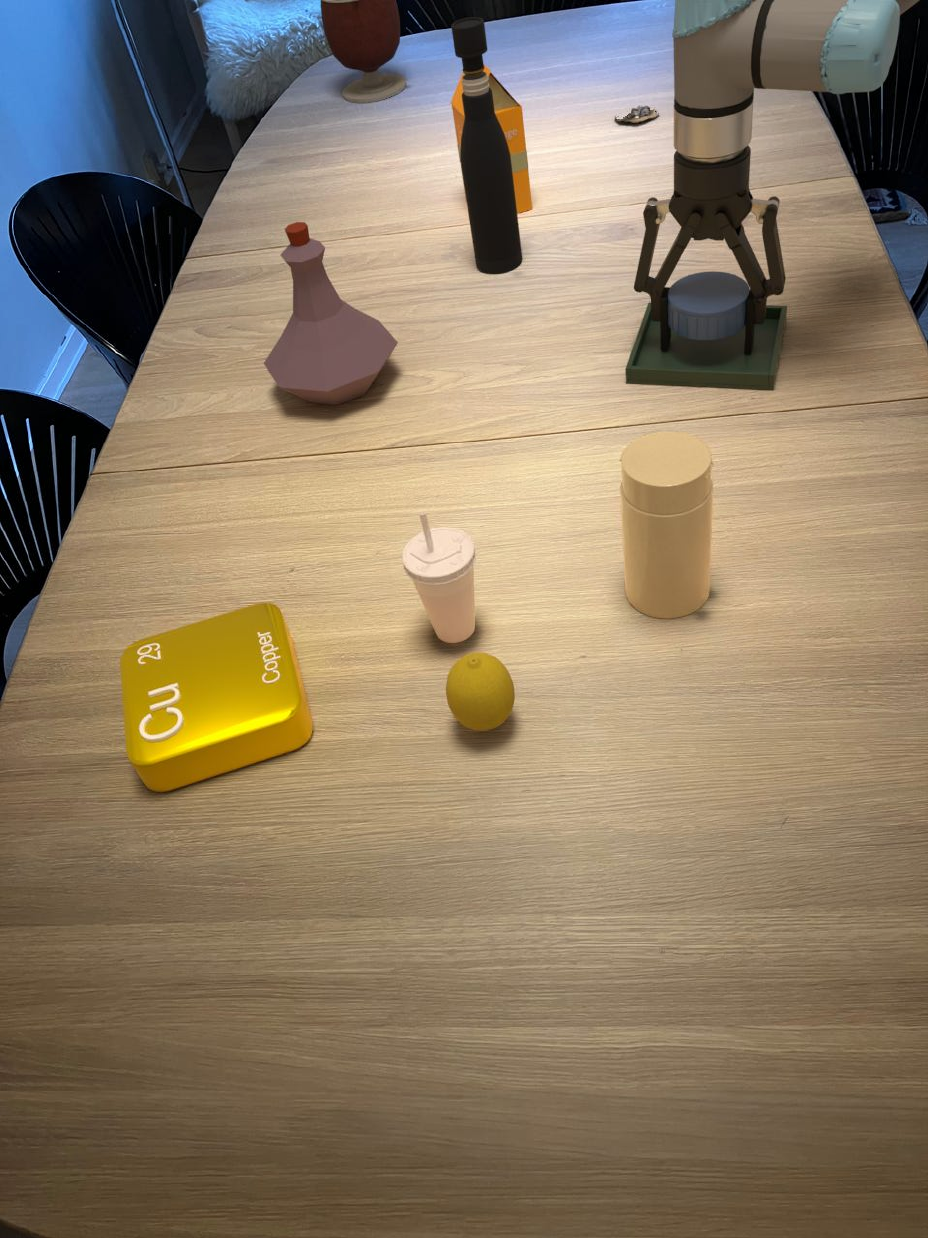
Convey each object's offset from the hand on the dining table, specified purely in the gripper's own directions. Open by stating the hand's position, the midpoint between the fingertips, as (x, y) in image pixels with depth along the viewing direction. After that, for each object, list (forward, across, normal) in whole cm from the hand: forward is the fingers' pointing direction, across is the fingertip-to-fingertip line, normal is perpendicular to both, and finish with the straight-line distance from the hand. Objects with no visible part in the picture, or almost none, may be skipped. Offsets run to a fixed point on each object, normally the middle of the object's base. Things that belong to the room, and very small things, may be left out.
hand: (706, 345), depth 119 cm
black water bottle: (+1, +31, -20) cm, 37 cm away
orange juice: (+1, +36, -37) cm, 52 cm away
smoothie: (+1, +16, +47) cm, 50 cm away
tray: (+1, 0, 0) cm, 1 cm away
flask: (+1, +43, +10) cm, 44 cm away
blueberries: (+1, +21, -68) cm, 71 cm away
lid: (-3, 0, 0) cm, 3 cm away
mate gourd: (+1, +74, -84) cm, 112 cm away
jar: (+1, -2, +39) cm, 39 cm away
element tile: (+1, +34, +60) cm, 69 cm away
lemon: (+1, +10, +57) cm, 58 cm away
